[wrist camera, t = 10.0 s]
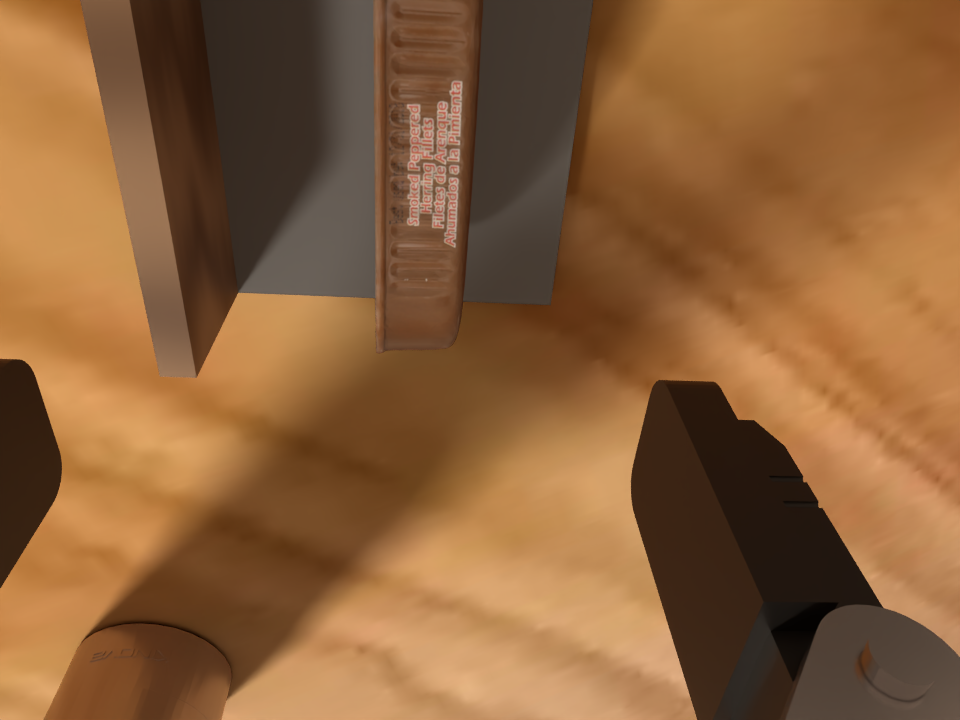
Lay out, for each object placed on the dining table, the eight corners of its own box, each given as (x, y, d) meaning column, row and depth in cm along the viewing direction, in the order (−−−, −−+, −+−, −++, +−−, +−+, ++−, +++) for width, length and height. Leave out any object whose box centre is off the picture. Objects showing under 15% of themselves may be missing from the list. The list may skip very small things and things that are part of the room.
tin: (374, -185, 21) (340, -214, 14) (482, -174, 21) (501, -198, 14) (376, 278, 29) (355, 404, 22) (454, 282, 30) (457, 408, 23)
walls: (550, 305, 30) (571, 389, 25) (207, 291, 29) (159, 376, 24) (642, -349, 19) (711, -426, 14) (99, -408, 18) (-28, -512, 13)
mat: (547, 293, 31) (550, 305, 30) (214, 279, 30) (207, 291, 29) (634, -340, 20) (642, -349, 19) (114, -395, 19) (99, -408, 18)
